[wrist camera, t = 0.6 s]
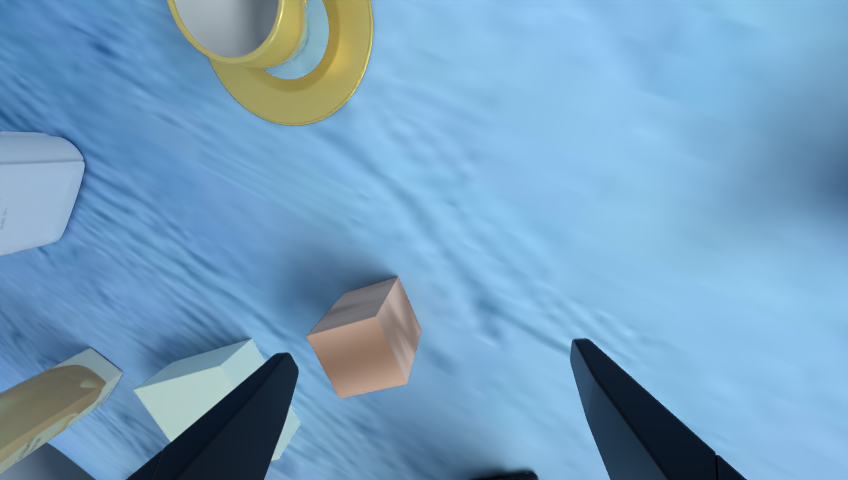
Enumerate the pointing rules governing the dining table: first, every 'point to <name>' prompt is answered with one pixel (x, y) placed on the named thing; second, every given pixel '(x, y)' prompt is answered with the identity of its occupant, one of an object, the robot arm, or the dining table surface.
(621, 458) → the robot arm
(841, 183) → the dining table surface
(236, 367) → the sage base block
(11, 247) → the white gravestone
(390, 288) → the terracotta block
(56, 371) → the skincare box
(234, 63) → the cup
